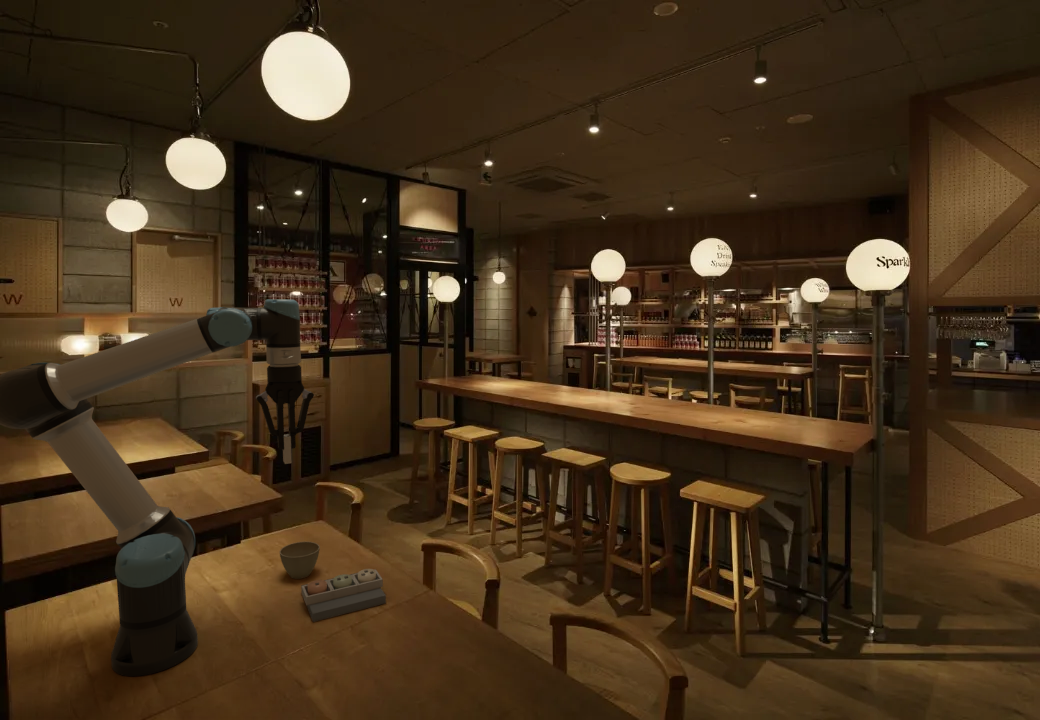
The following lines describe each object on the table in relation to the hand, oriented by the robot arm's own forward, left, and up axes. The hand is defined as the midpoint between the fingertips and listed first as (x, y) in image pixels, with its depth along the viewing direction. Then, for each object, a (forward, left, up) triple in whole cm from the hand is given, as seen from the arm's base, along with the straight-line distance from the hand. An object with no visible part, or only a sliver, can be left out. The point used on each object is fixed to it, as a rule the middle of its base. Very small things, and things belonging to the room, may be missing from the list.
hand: (287, 462), depth 139 cm
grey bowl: (+4, +12, -35) cm, 37 cm away
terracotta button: (+5, -6, -32) cm, 33 cm away
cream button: (+17, -6, -32) cm, 37 cm away
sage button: (+11, -6, -32) cm, 34 cm away
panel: (+11, -6, -34) cm, 37 cm away
